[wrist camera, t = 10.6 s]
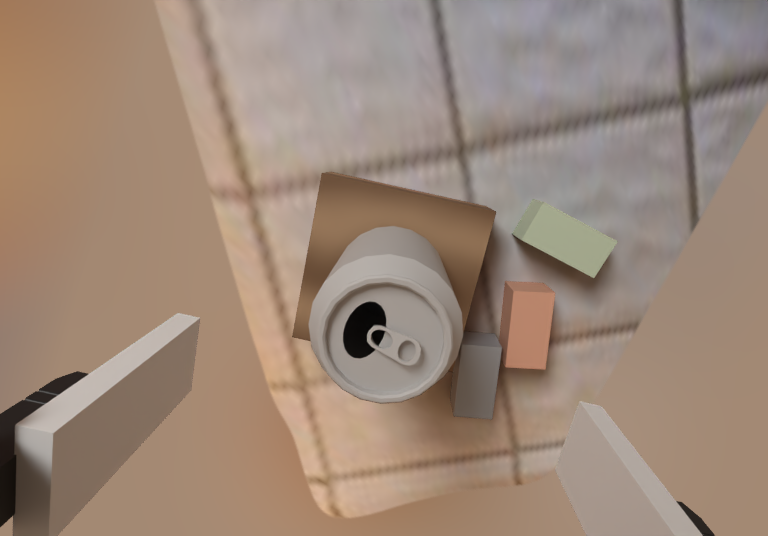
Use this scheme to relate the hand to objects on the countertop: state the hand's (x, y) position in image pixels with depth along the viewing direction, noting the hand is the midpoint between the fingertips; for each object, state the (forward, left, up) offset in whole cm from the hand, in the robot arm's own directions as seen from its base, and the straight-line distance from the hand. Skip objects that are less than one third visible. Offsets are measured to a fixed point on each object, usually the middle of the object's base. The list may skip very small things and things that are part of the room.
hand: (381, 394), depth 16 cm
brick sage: (-5, +12, -21) cm, 25 cm away
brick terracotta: (+2, +11, -21) cm, 24 cm away
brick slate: (+7, +8, -21) cm, 24 cm away
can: (0, 0, -17) cm, 17 cm away
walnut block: (0, 0, -21) cm, 21 cm away
